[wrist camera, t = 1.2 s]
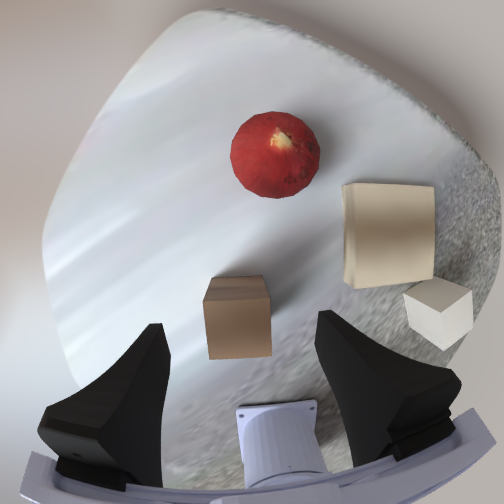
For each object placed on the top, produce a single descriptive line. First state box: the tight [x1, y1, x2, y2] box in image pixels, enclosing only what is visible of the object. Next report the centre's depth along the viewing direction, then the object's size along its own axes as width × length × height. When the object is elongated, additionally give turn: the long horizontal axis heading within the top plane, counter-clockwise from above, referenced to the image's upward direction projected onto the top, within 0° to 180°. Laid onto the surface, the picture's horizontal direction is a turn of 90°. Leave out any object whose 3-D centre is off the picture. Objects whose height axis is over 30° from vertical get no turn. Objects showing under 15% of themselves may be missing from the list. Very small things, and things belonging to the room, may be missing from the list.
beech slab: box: [342, 183, 435, 289], centre depth 21 cm, size 8×8×3 cm
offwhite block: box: [403, 276, 473, 351], centre depth 21 cm, size 4×4×6 cm
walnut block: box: [203, 275, 272, 360], centre depth 19 cm, size 4×4×6 cm
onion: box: [230, 111, 320, 199], centre depth 17 cm, size 6×6×8 cm
